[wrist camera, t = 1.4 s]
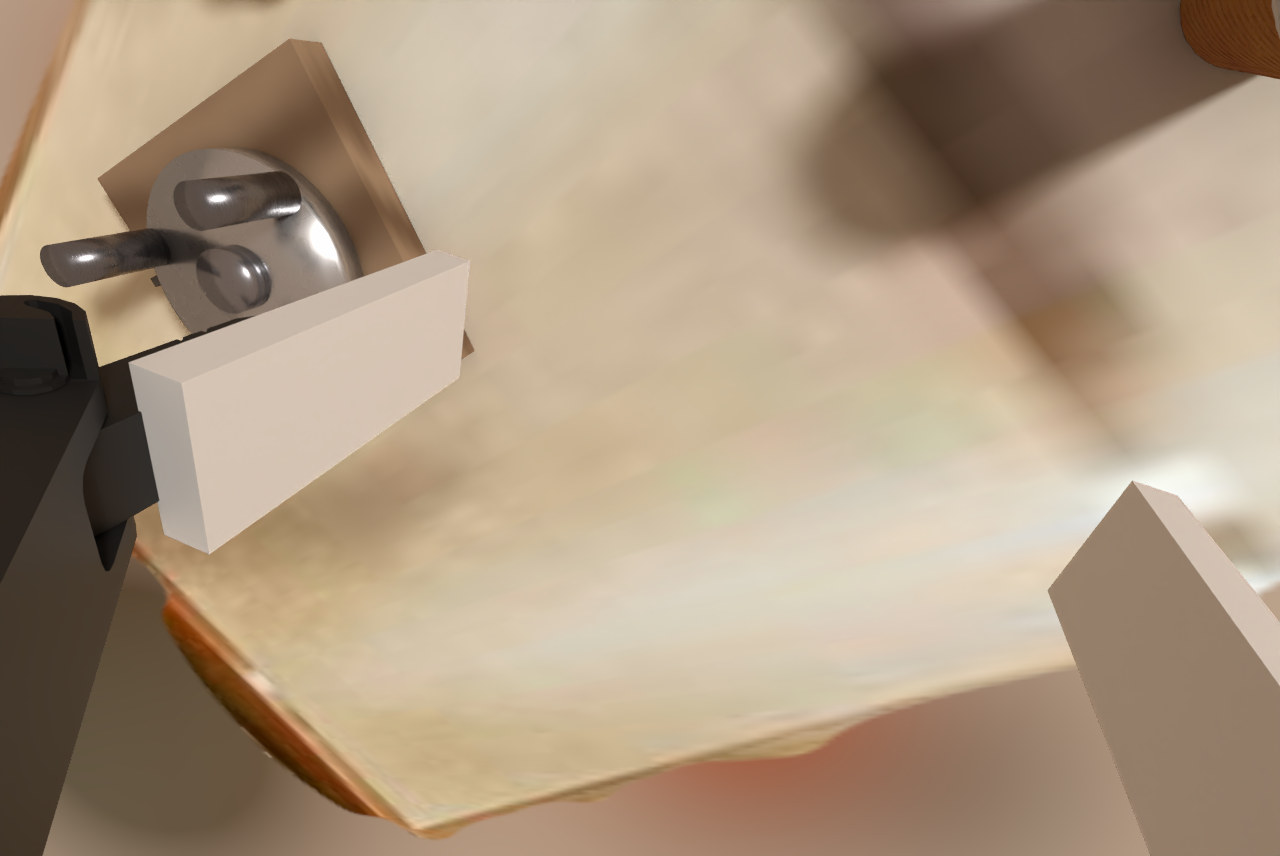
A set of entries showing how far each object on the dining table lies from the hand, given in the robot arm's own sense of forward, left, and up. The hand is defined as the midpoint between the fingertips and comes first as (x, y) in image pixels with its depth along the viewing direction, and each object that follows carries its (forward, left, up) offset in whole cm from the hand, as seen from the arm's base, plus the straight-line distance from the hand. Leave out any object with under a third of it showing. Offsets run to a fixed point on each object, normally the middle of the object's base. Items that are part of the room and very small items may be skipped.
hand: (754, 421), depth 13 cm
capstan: (-10, -34, -22) cm, 42 cm away
